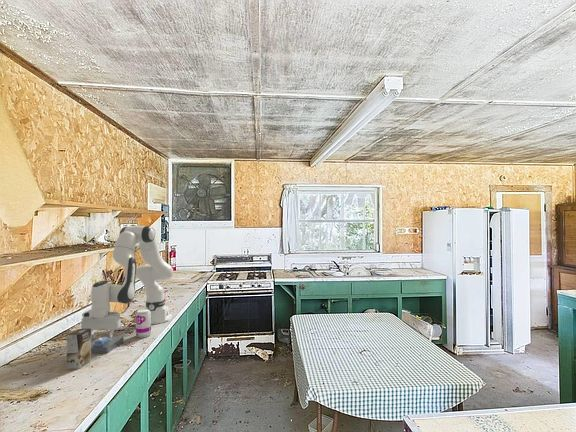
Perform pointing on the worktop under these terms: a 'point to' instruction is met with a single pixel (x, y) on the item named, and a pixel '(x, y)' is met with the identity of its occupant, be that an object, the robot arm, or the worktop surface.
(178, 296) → the worktop surface
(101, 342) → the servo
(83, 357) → the coffee box
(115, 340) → the plate
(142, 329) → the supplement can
